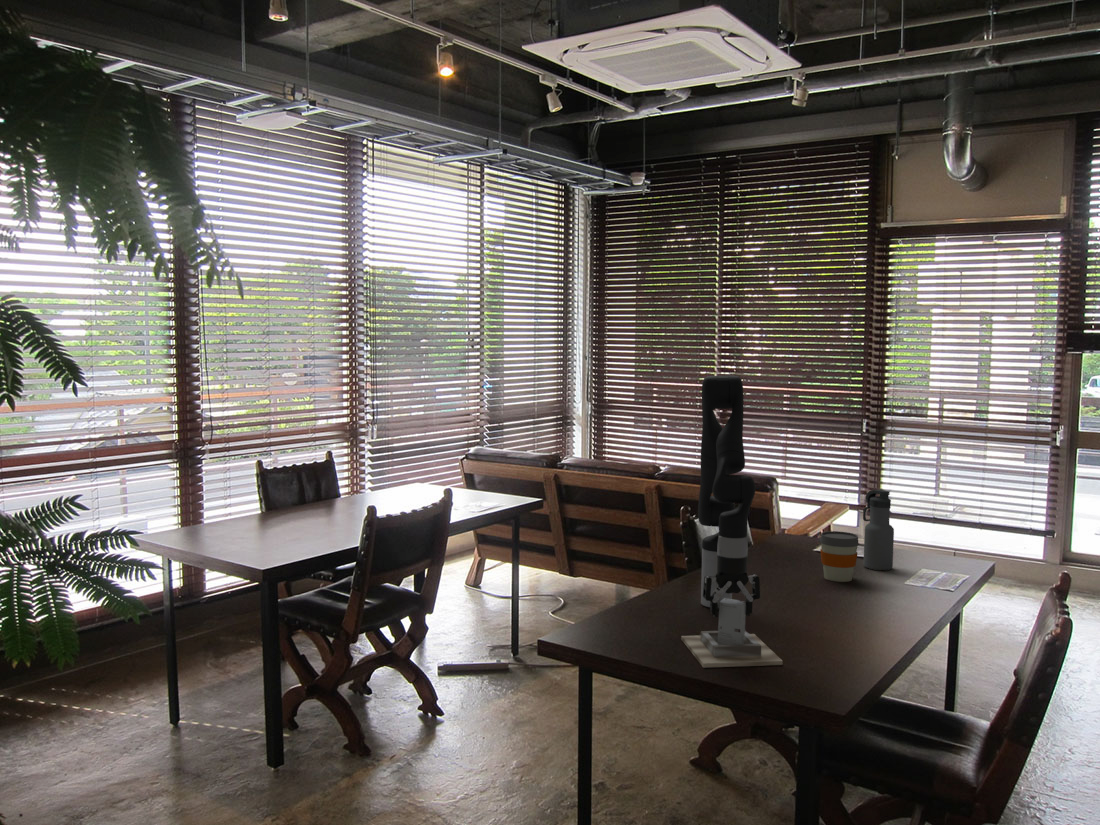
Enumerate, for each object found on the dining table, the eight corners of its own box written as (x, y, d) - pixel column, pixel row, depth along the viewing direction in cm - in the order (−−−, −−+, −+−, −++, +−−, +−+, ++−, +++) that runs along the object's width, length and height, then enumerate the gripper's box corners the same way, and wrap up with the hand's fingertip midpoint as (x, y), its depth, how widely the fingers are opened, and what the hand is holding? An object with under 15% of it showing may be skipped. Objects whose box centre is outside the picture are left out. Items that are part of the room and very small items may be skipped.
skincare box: (716, 648, 214) (717, 601, 213) (722, 643, 218) (723, 597, 217) (740, 652, 211) (741, 605, 210) (745, 647, 215) (746, 600, 214)
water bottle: (856, 565, 304) (859, 489, 302) (876, 562, 308) (879, 487, 306) (878, 572, 295) (881, 493, 293) (898, 569, 299) (901, 491, 297)
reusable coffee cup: (862, 583, 280) (864, 539, 279) (825, 583, 280) (826, 538, 279) (850, 573, 292) (851, 531, 291) (814, 573, 293) (815, 530, 291)
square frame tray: (681, 639, 223) (681, 626, 223) (753, 637, 225) (754, 624, 225) (703, 667, 203) (703, 653, 203) (782, 664, 205) (782, 650, 205)
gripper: (754, 549, 217) (752, 610, 218) (700, 550, 215) (699, 612, 216) (764, 556, 209) (763, 619, 211) (709, 557, 208) (708, 621, 209)
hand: (730, 615), depth 214 cm, fingers open, 8 cm apart
